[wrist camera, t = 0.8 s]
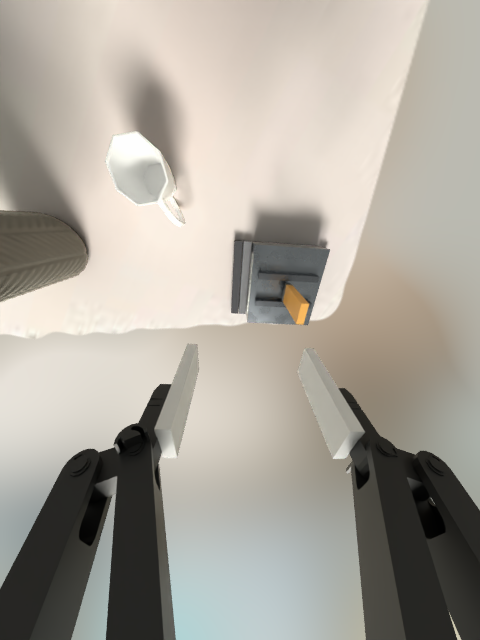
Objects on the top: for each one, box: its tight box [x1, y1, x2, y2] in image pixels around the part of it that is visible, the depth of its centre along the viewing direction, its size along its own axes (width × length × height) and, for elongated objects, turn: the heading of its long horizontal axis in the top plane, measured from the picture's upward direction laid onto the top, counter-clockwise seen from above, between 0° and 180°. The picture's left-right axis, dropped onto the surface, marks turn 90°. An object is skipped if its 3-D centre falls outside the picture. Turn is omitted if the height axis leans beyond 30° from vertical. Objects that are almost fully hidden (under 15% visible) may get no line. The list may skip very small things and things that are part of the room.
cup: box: [105, 131, 185, 227], centre depth 25 cm, size 7×10×8 cm
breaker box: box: [246, 241, 330, 325], centre depth 33 cm, size 14×12×6 cm
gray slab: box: [231, 240, 252, 314], centre depth 34 cm, size 14×3×1 cm, turn 176°
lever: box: [282, 283, 309, 325], centre depth 27 cm, size 3×1×9 cm, turn 176°
